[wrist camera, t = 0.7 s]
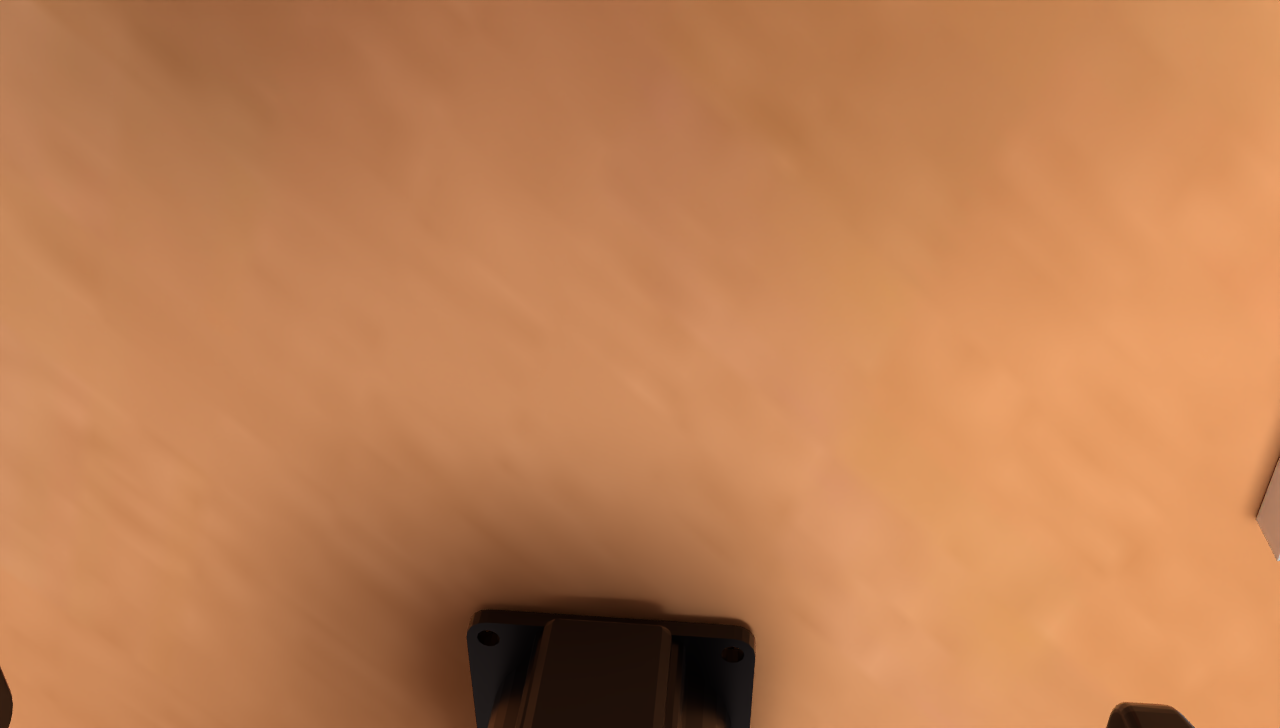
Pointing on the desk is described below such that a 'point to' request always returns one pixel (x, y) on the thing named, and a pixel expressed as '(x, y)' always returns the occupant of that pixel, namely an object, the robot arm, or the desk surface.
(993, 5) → the desk surface
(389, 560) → the desk surface
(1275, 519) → the plug tray
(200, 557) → the desk surface
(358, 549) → the desk surface
